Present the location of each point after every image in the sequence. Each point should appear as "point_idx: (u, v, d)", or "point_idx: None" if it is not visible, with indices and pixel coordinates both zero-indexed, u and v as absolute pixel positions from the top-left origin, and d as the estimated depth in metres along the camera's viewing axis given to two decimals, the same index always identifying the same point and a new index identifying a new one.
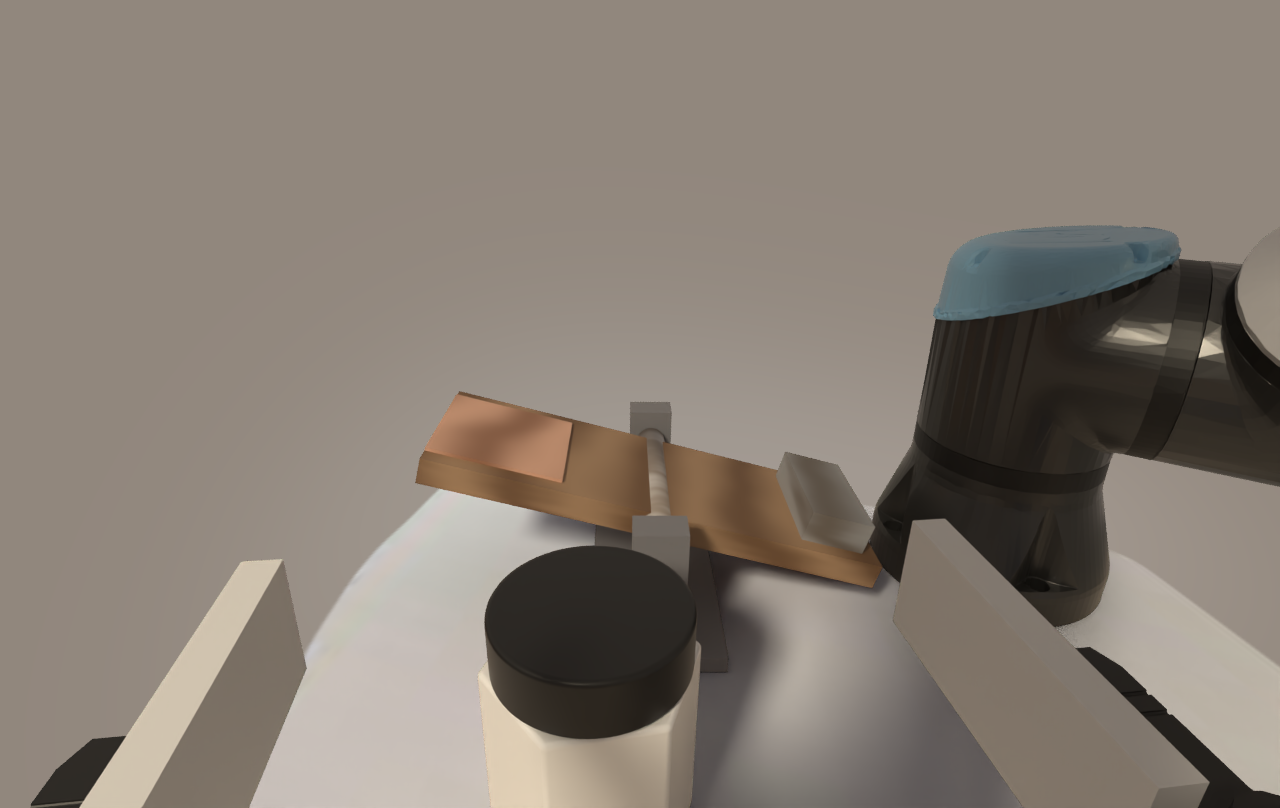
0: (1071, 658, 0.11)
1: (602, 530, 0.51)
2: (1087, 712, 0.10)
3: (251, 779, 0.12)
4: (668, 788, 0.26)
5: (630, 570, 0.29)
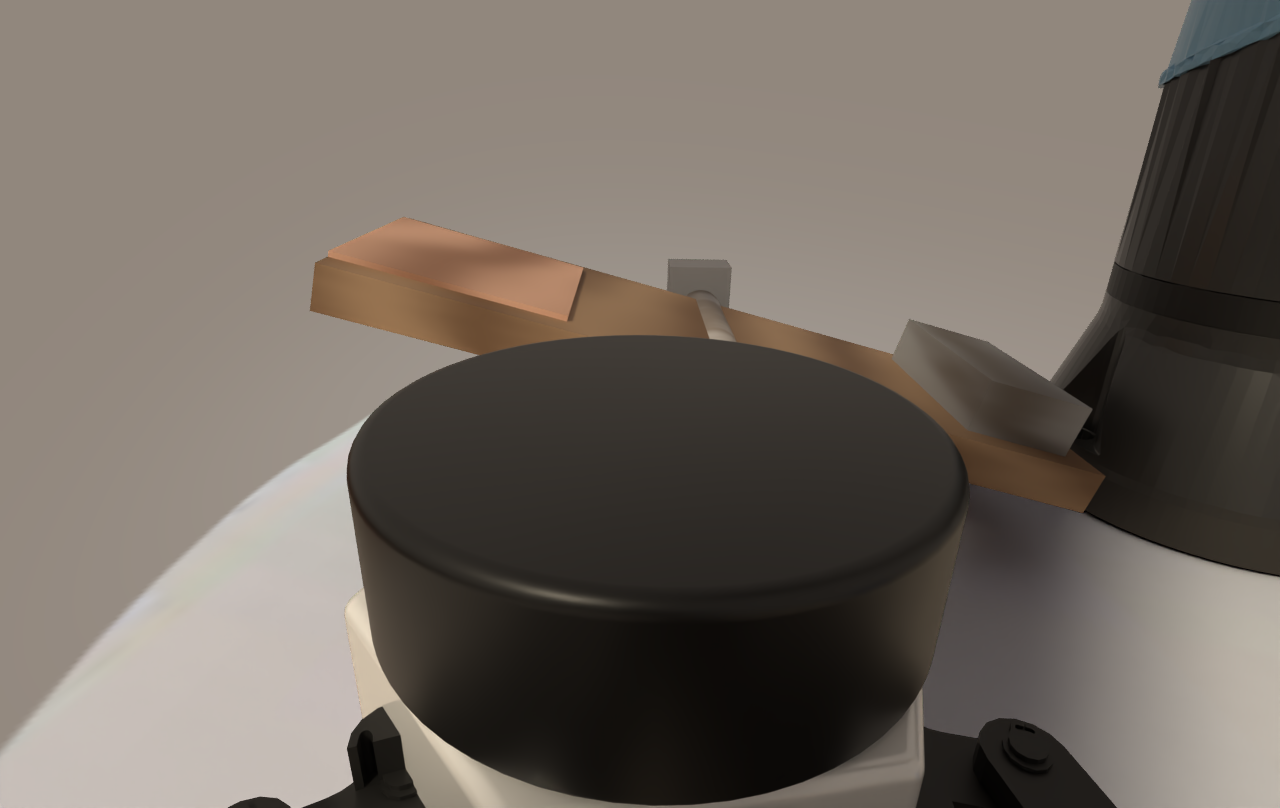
0: None
1: None
2: None
3: None
4: None
5: (742, 367, 0.12)
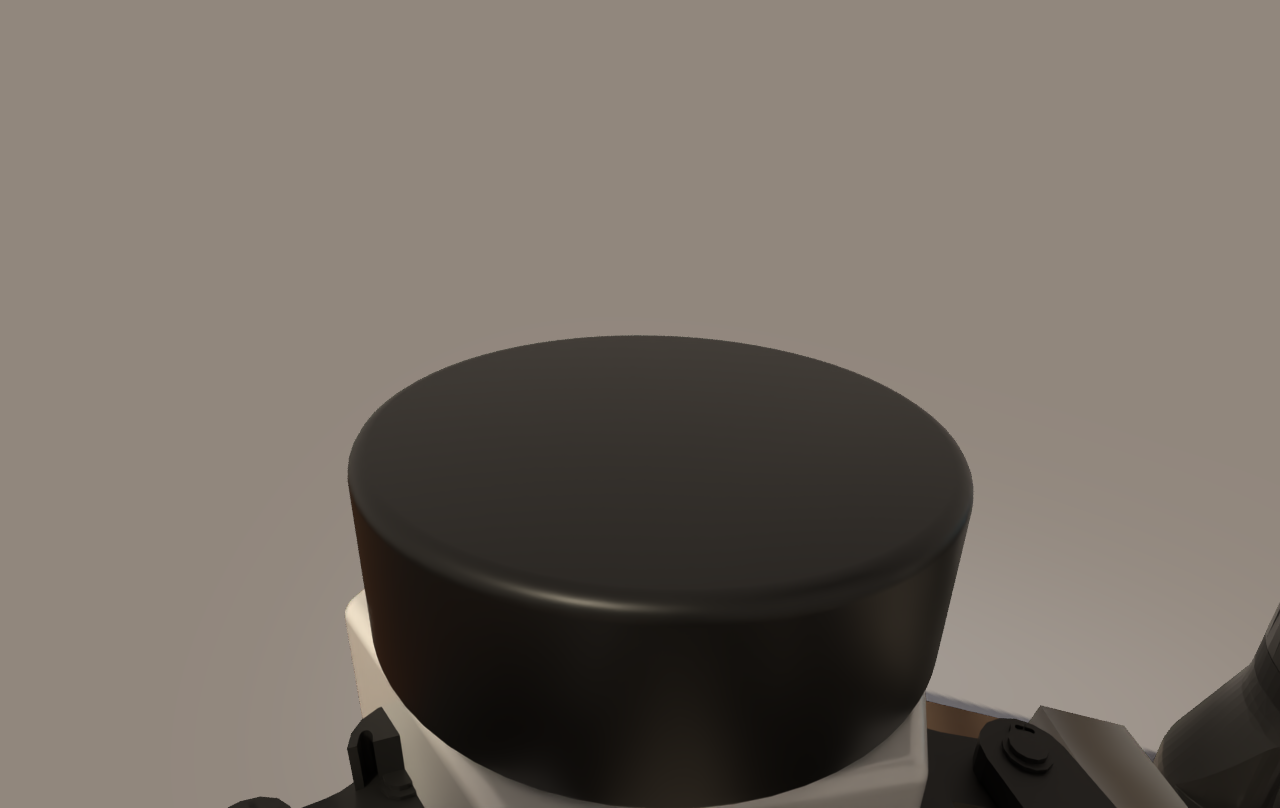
0: None
1: None
2: None
3: None
4: None
5: (744, 367, 0.12)
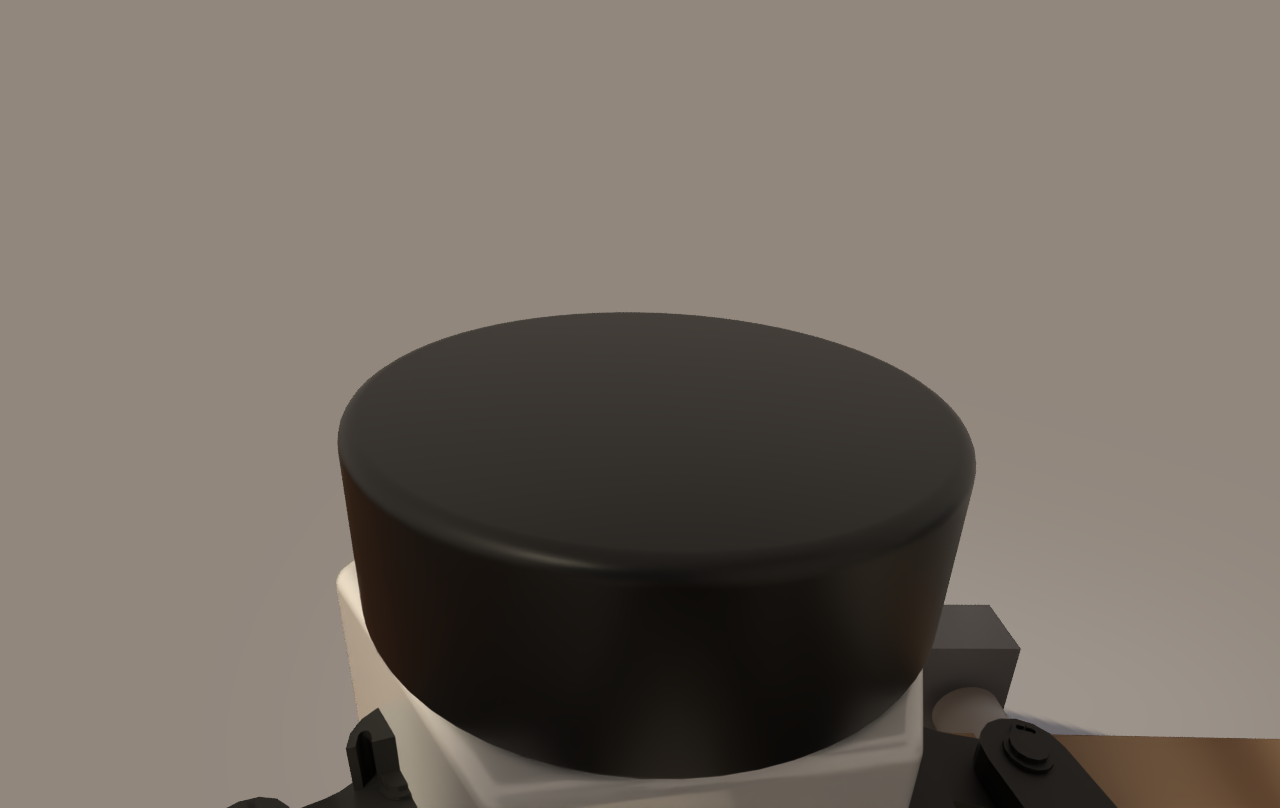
0: None
1: None
2: None
3: None
4: None
5: (746, 344, 0.11)
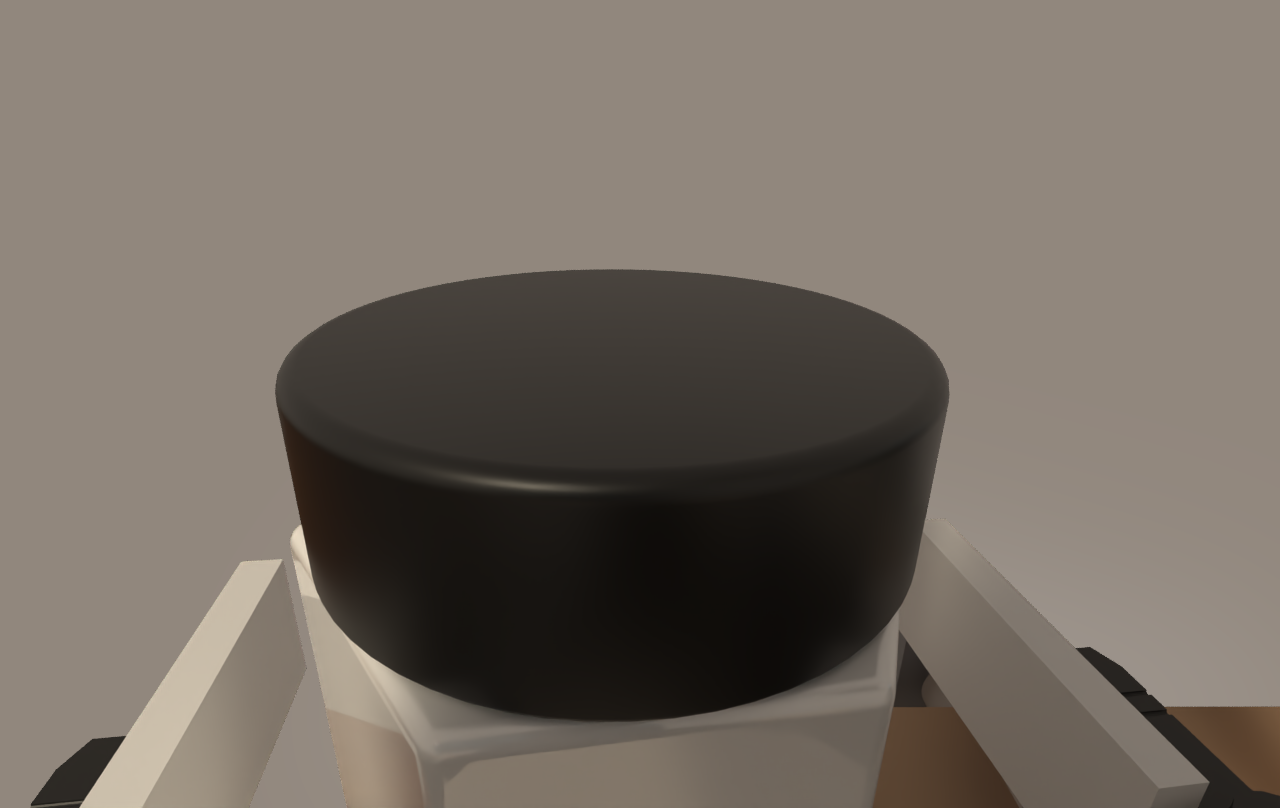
0: (1071, 658, 0.11)
1: None
2: (1087, 712, 0.10)
3: (251, 779, 0.12)
4: None
5: (718, 293, 0.11)
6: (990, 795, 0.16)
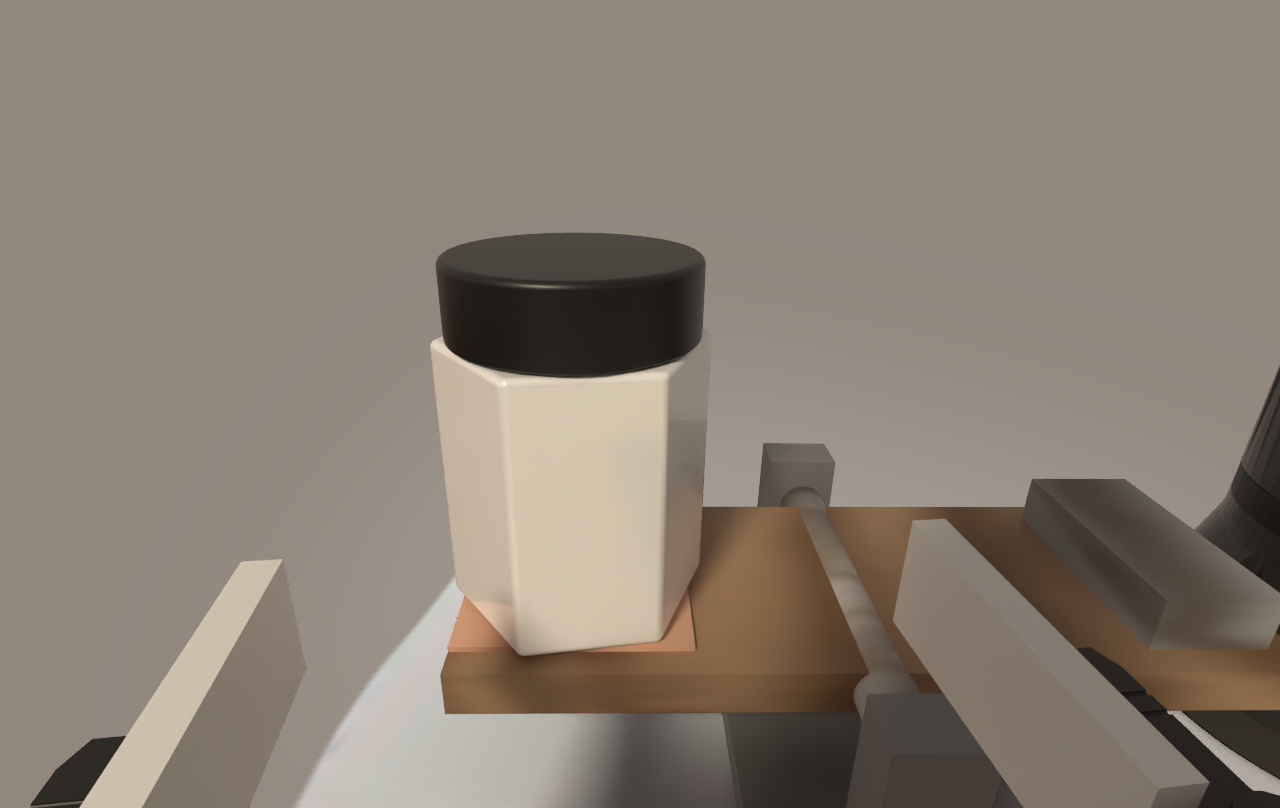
0: (1071, 658, 0.11)
1: None
2: (1087, 712, 0.10)
3: (251, 779, 0.12)
4: (665, 473, 0.20)
5: (624, 241, 0.23)
6: (799, 540, 0.29)
